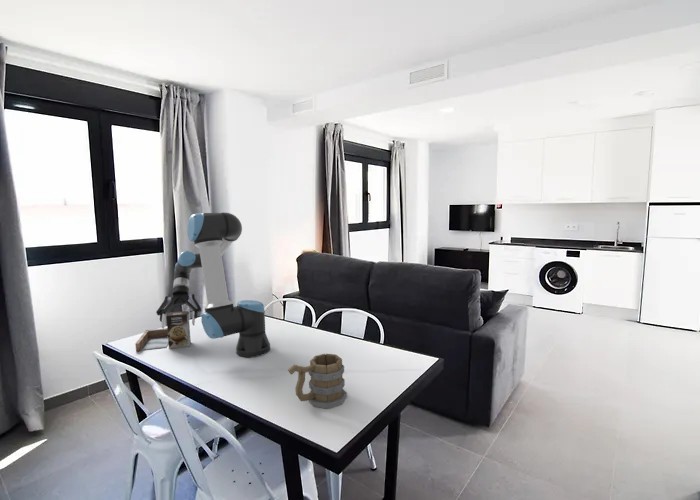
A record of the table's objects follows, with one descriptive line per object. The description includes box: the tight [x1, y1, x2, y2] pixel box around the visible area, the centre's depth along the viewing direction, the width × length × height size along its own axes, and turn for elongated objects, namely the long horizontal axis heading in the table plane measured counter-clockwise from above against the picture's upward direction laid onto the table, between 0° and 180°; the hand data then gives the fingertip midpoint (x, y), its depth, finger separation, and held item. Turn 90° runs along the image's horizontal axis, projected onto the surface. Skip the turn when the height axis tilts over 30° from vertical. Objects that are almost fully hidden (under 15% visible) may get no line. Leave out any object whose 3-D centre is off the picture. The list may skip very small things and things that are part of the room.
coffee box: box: [165, 310, 192, 350], centre depth 176 cm, size 9×6×16 cm
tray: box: [134, 327, 169, 353], centre depth 181 cm, size 19×12×4 cm
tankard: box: [287, 353, 348, 410], centre depth 124 cm, size 20×13×15 cm, turn 118°
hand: (178, 325), depth 177 cm, fingers open, 13 cm apart
